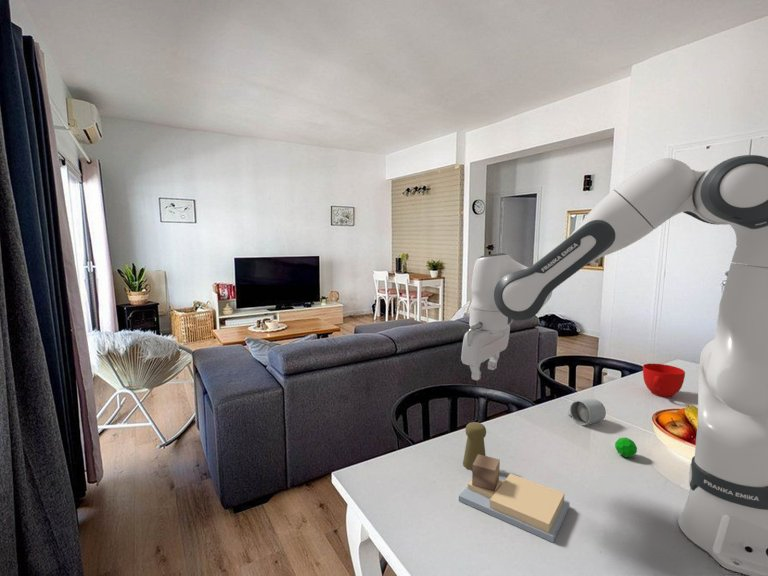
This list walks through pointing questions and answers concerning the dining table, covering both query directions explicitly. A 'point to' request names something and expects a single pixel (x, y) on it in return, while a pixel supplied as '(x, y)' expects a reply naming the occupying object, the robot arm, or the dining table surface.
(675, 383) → the red bowl
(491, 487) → the walnut cube
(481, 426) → the olive pawn
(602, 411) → the ceramic mug
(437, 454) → the dining table surface
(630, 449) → the polyhedron
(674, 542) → the dining table surface
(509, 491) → the base board
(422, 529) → the dining table surface
